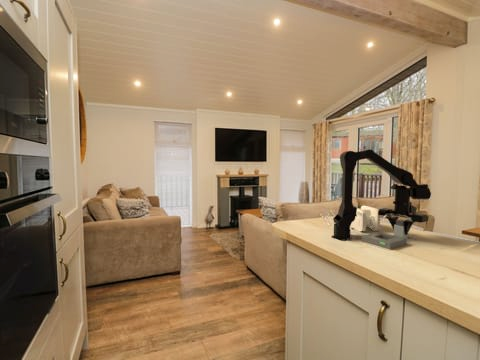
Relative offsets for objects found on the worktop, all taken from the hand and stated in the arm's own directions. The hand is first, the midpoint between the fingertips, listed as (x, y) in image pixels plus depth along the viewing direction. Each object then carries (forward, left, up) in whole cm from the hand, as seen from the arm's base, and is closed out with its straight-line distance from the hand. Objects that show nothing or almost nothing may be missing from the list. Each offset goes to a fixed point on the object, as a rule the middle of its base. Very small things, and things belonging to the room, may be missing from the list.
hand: (400, 233), depth 115 cm
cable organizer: (-19, 0, -3) cm, 19 cm away
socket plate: (0, -13, -2) cm, 13 cm away
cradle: (0, 0, -2) cm, 2 cm away
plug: (0, 0, -2) cm, 2 cm away
